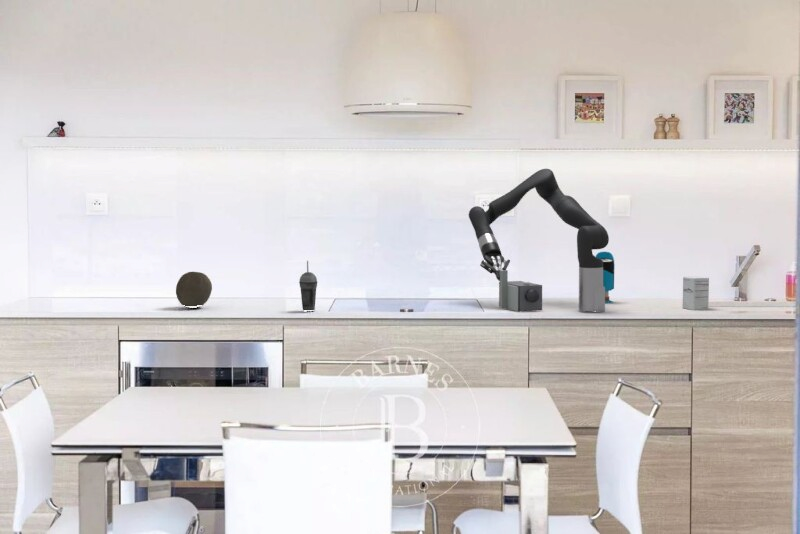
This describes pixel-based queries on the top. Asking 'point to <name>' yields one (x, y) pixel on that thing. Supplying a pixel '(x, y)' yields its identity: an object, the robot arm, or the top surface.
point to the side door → (508, 292)
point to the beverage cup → (308, 290)
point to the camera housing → (527, 295)
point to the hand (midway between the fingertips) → (501, 279)
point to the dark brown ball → (193, 289)
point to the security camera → (607, 273)
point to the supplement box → (695, 293)
